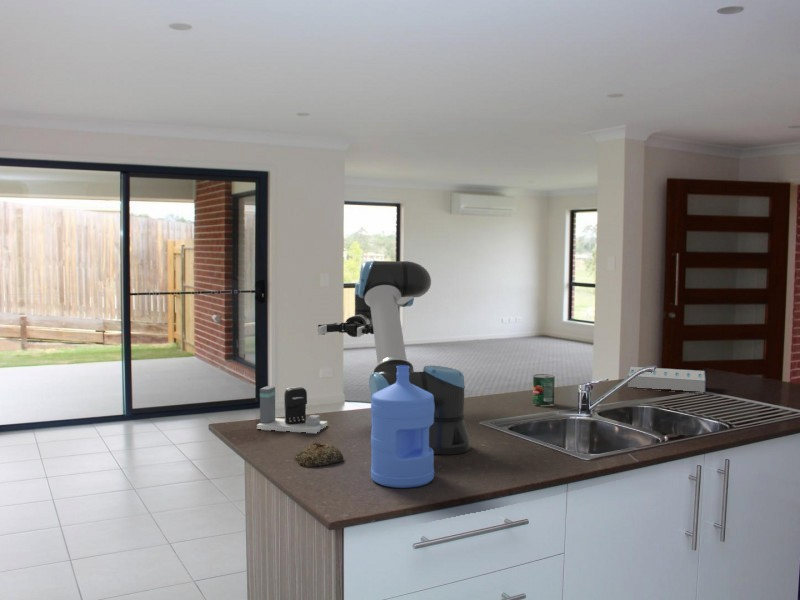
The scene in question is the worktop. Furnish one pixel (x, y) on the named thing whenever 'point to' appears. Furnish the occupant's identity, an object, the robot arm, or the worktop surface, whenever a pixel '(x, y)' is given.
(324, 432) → the worktop surface
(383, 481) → the water jug
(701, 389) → the dotted white bar
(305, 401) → the battery charger
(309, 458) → the bread roll
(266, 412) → the mount
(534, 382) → the canned tomato
